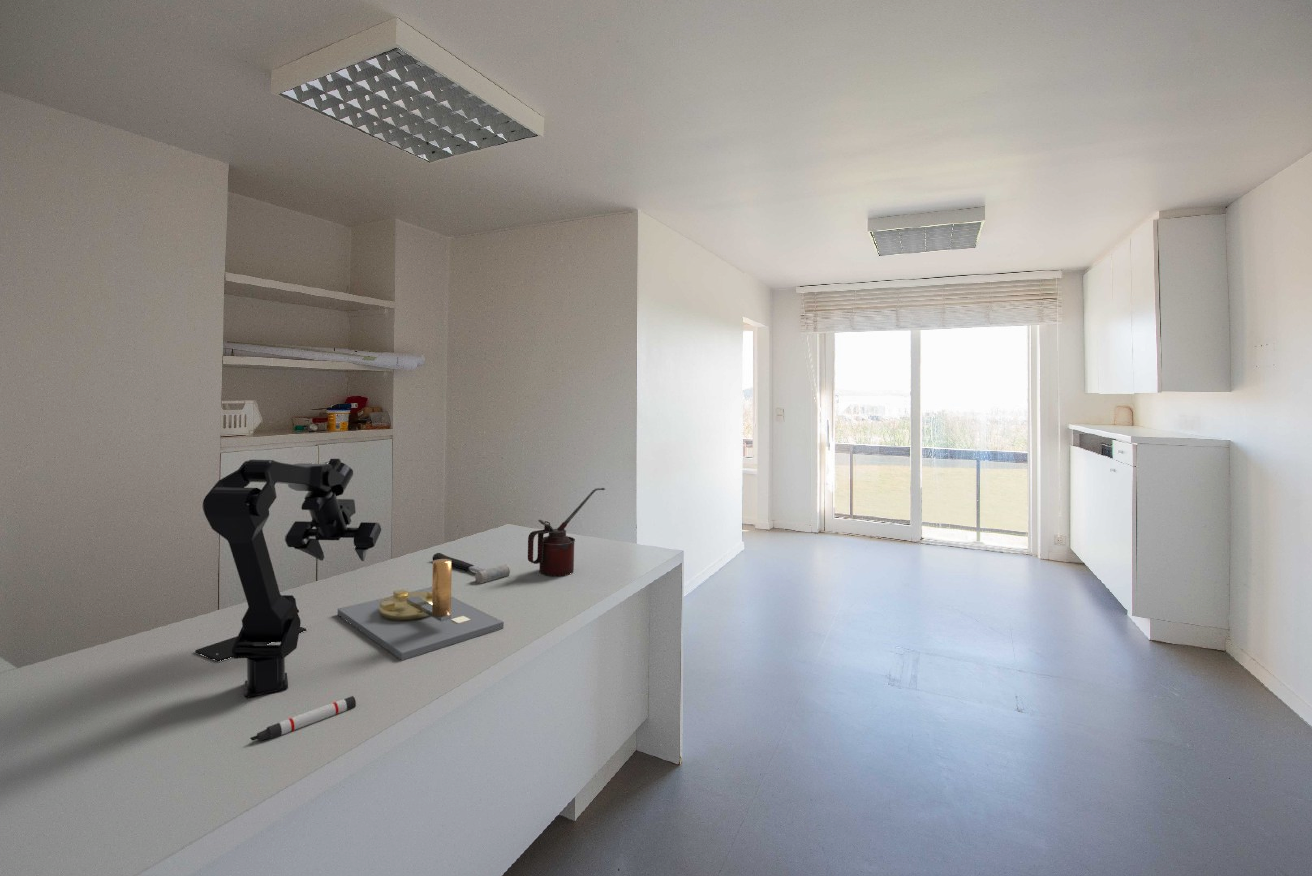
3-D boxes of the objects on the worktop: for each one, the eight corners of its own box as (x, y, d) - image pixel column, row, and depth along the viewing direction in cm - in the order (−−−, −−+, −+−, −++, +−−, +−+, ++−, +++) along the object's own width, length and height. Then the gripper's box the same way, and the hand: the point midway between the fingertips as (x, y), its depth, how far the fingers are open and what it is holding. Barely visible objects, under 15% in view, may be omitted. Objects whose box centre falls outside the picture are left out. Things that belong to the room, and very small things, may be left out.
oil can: (539, 581, 171) (541, 497, 169) (520, 572, 179) (521, 492, 177) (613, 565, 190) (615, 489, 189) (593, 557, 198) (595, 485, 196)
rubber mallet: (450, 548, 193) (510, 565, 175) (450, 559, 193) (509, 577, 175) (423, 554, 185) (483, 572, 167) (423, 566, 185) (483, 585, 168)
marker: (350, 705, 102) (350, 694, 102) (355, 709, 100) (355, 698, 100) (247, 743, 90) (247, 731, 90) (252, 748, 89) (252, 736, 88)
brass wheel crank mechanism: (369, 608, 141) (369, 547, 140) (425, 595, 151) (425, 538, 150) (415, 637, 125) (416, 569, 124) (474, 620, 136) (474, 557, 135)
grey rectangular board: (337, 614, 141) (337, 607, 141) (431, 592, 159) (431, 586, 159) (402, 660, 119) (402, 652, 118) (503, 628, 136) (503, 620, 136)
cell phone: (307, 632, 131) (307, 628, 131) (219, 664, 115) (219, 659, 115) (282, 624, 135) (282, 620, 135) (193, 654, 119) (193, 650, 119)
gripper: (381, 487, 134) (395, 534, 143) (297, 485, 133) (315, 533, 142) (365, 521, 125) (380, 570, 135) (273, 520, 124) (295, 569, 133)
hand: (343, 559), depth 136 cm, fingers open, 9 cm apart
